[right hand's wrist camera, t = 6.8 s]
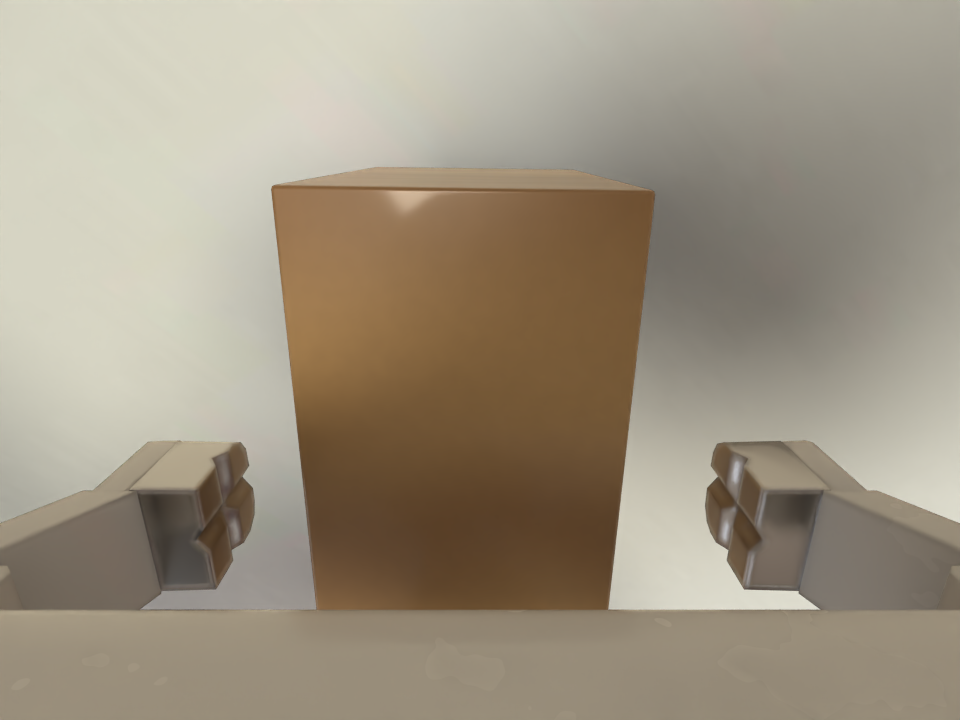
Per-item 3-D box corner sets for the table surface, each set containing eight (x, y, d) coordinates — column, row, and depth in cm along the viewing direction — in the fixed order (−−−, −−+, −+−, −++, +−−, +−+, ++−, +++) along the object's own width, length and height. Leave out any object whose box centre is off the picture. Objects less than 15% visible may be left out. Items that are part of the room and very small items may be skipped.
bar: (375, 166, 17) (269, 184, 9) (575, 169, 17) (656, 190, 9) (405, 809, 26) (368, 1102, 18) (532, 812, 26) (552, 1107, 18)
